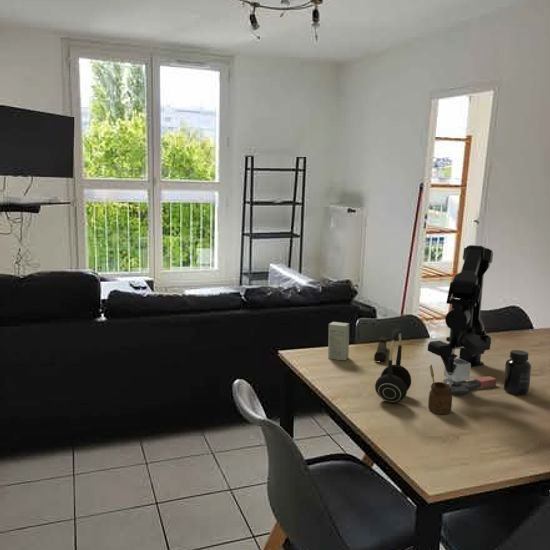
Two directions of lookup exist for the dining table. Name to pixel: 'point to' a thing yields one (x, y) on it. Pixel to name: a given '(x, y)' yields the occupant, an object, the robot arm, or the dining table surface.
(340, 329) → the skincare box
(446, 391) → the utensil holder
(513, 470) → the dining table surface
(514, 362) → the supplement bottle
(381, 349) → the hand tool
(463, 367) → the square hollow container
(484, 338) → the robot arm
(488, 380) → the ratchet
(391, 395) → the headphones
